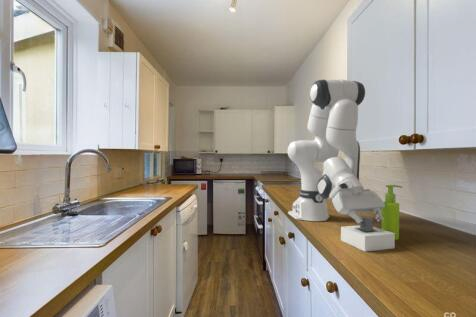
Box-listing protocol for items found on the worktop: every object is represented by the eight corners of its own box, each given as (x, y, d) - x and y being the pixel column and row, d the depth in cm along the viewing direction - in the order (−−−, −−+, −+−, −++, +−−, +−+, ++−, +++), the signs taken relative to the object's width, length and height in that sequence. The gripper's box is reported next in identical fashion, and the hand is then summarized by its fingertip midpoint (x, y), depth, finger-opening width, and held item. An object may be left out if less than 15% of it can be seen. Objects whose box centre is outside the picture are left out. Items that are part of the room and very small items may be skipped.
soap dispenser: (404, 240, 98) (405, 186, 98) (384, 239, 99) (385, 185, 99) (397, 235, 104) (398, 184, 104) (378, 234, 105) (379, 184, 105)
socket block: (340, 240, 98) (341, 226, 98) (368, 237, 101) (368, 224, 101) (364, 251, 86) (364, 236, 86) (394, 248, 90) (394, 233, 90)
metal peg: (357, 242, 96) (357, 217, 96) (366, 241, 97) (367, 216, 97) (365, 245, 92) (365, 219, 92) (375, 245, 93) (375, 219, 93)
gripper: (366, 194, 108) (387, 224, 99) (325, 196, 101) (343, 228, 92) (376, 184, 104) (398, 214, 95) (333, 185, 97) (353, 218, 88)
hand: (371, 221), depth 93 cm, fingers open, 8 cm apart
